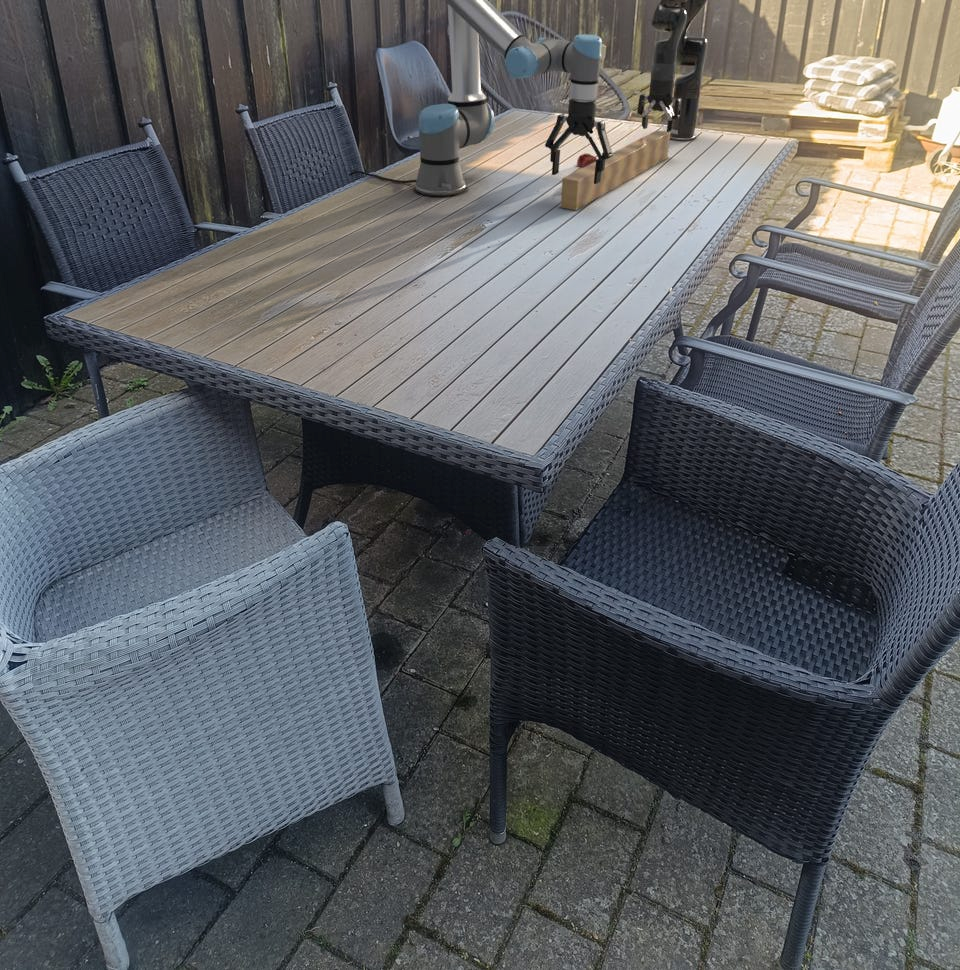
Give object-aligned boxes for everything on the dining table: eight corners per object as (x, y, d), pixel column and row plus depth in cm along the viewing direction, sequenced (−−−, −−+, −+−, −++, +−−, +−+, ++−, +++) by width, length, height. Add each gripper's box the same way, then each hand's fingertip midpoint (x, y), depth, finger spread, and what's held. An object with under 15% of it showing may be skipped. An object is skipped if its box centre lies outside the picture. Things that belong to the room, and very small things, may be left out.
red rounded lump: (591, 150, 280) (600, 156, 273) (591, 163, 282) (599, 169, 276) (576, 151, 279) (584, 158, 272) (575, 164, 281) (583, 171, 275)
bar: (576, 210, 242) (577, 180, 237) (560, 207, 244) (562, 178, 240) (667, 157, 288) (670, 132, 284) (653, 155, 291) (656, 130, 286)
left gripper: (630, 103, 227) (620, 183, 240) (549, 90, 238) (544, 167, 250) (618, 108, 222) (609, 189, 235) (536, 94, 233) (531, 173, 245)
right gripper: (688, 77, 270) (681, 130, 279) (647, 72, 276) (641, 124, 286) (679, 81, 265) (672, 135, 274) (637, 76, 271) (632, 129, 281)
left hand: (575, 178), depth 243 cm, fingers open, 13 cm apart
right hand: (656, 130), depth 280 cm, fingers open, 8 cm apart
